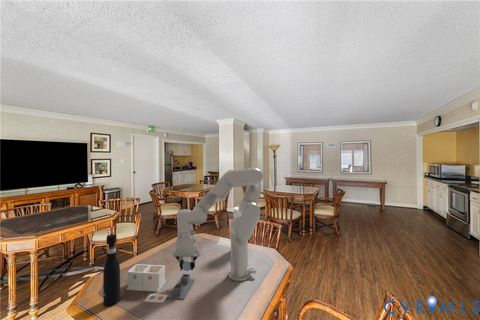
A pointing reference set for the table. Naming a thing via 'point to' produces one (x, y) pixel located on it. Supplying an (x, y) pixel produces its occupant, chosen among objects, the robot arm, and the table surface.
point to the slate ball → (187, 265)
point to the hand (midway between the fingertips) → (187, 268)
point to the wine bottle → (111, 274)
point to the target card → (156, 298)
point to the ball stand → (181, 287)
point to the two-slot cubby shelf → (146, 277)
